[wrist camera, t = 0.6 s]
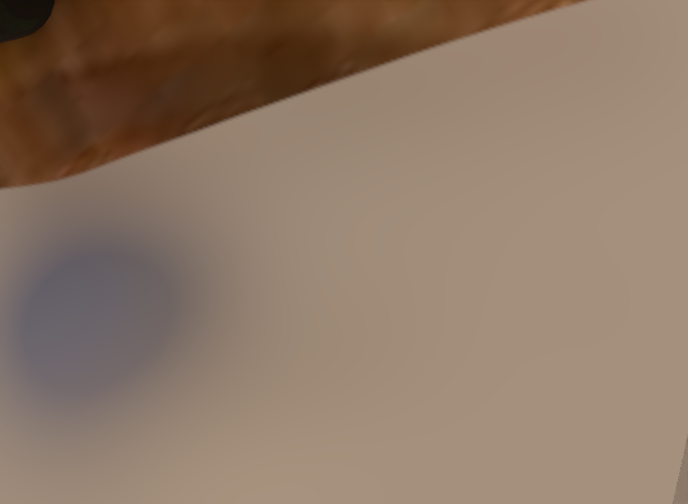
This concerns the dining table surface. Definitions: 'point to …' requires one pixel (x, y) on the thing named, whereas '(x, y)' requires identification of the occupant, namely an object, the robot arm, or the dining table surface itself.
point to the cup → (22, 17)
